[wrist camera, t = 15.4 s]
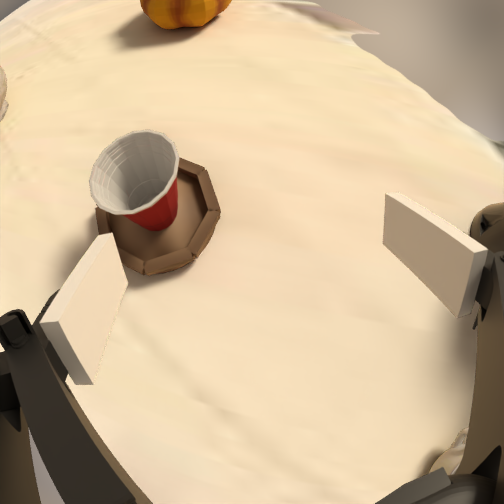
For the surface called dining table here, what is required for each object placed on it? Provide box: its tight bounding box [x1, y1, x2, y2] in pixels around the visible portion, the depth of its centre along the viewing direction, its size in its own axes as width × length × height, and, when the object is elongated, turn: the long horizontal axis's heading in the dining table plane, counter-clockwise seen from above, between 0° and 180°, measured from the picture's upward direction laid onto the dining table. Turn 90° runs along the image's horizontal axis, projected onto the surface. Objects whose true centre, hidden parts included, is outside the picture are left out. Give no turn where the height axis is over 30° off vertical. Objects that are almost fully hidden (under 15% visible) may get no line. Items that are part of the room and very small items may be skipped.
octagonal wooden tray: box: [95, 158, 221, 276], centre depth 43 cm, size 17×17×4 cm
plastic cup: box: [89, 130, 179, 231], centre depth 37 cm, size 11×11×12 cm
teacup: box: [429, 427, 469, 475], centre depth 30 cm, size 14×11×8 cm
